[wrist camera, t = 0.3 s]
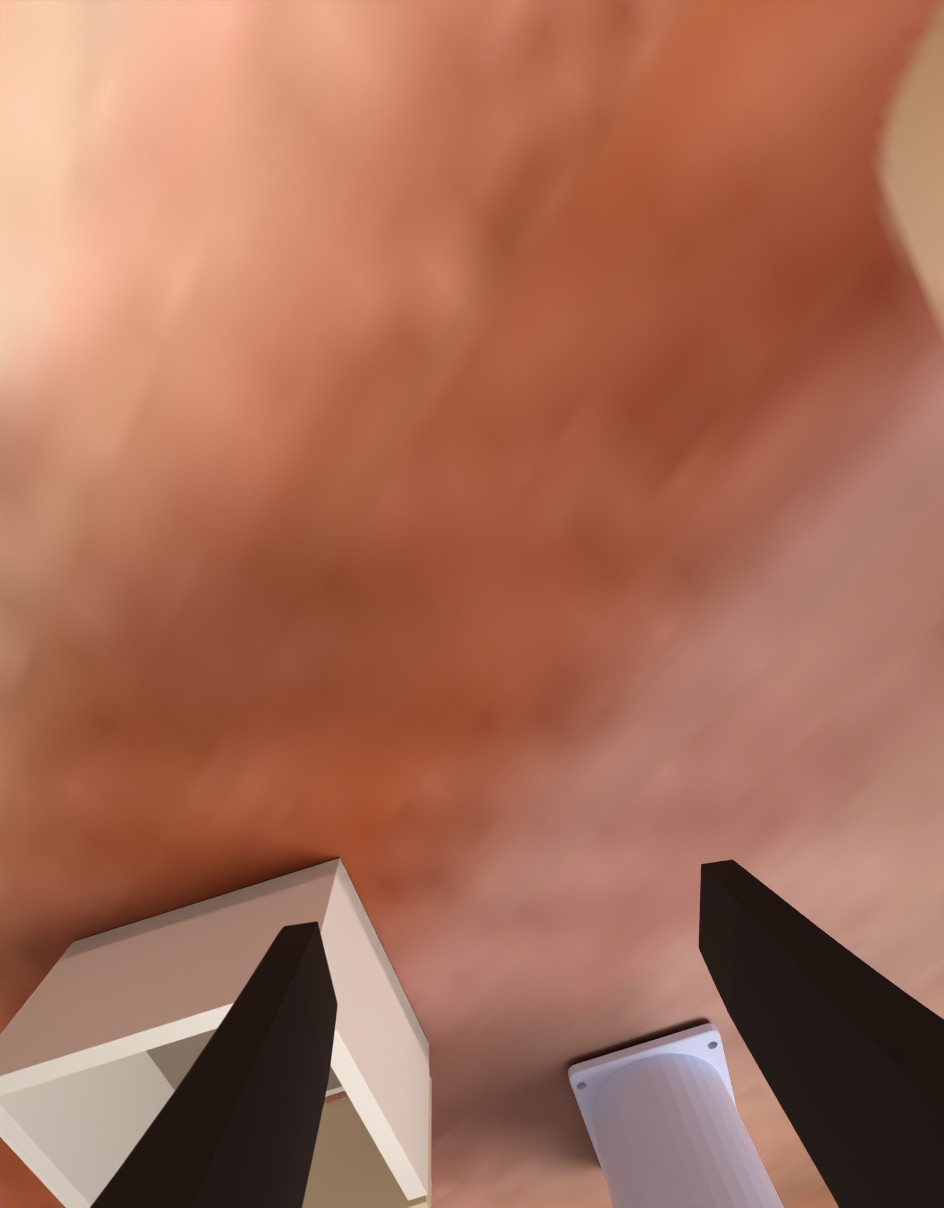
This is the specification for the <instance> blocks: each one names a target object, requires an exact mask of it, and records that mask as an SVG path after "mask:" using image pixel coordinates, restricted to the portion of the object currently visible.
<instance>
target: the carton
mask: <svg viewBox="0 0 944 1208" xmlns="http://www.w3.org/2000/svg"><path fill="white" fill-rule="evenodd" d="M316 921H318V925H319V929H320V933H321V937H322V941H323V946H324V950H325V954H326V958H327V962H328V966H329V970H330V974H331V979H332V983H333V987H334V991H335V995H336V999H337V1003H338V1007H337V1016H336V1024H335V1033H334V1042H333V1050H332V1057H331V1065H330V1073H329V1080H328V1086H327V1090H326V1095H325V1097H327V1096H330V1095H333V1094H336V1093H339V1092H343V1091H346V1093H347V1095H348V1097H349V1098H350V1100H351V1102H352V1104H353V1105H354V1107H355V1109H356V1111H357V1112H358V1114H359V1116H360V1118H361V1119H362V1121H363V1123H364V1125H365V1126H366V1128H367V1130H368V1131H369V1133H370V1135H371V1137H372V1138H373V1140H374V1142H375V1144H376V1145H377V1147H378V1149H379V1151H380V1152H381V1154H382V1156H383V1158H384V1159H385V1161H386V1163H387V1165H388V1166H389V1168H390V1170H391V1172H392V1173H393V1175H394V1177H395V1179H396V1180H397V1182H398V1184H399V1185H400V1187H401V1189H402V1191H403V1192H404V1194H405V1196H406V1198H407V1199H408V1200H412V1199H415V1198H418V1197H421V1196H425V1195H428V1117H429V1043H428V1041H427V1039H426V1037H425V1035H424V1033H423V1031H422V1029H421V1027H420V1024H419V1022H418V1020H417V1018H416V1016H415V1014H414V1012H413V1010H412V1008H411V1006H410V1004H409V1002H408V999H407V997H406V995H405V993H404V991H403V989H402V987H401V985H400V983H399V981H398V979H397V976H396V974H395V972H394V970H393V968H392V966H391V964H390V962H389V960H388V958H387V956H386V953H385V951H384V949H383V947H382V945H381V943H380V941H379V939H378V937H377V935H376V933H375V930H374V928H373V926H372V924H371V922H370V920H369V918H368V916H367V914H366V912H365V910H364V907H363V905H362V903H361V901H360V899H359V897H358V895H357V893H356V891H355V889H354V887H353V884H352V882H351V880H350V878H349V876H348V874H347V872H346V870H345V868H344V866H343V864H342V861H341V859H340V858H338V859H335V860H332V861H329V862H325V863H322V864H319V865H316V866H313V867H310V868H306V869H303V870H300V871H297V872H294V873H290V874H287V875H284V876H281V877H278V878H275V879H271V880H268V881H265V882H262V883H259V884H256V885H252V886H249V887H246V888H243V889H240V890H236V891H233V892H230V893H227V894H224V895H221V896H217V897H214V898H211V899H208V900H205V901H201V902H198V903H195V904H192V905H189V906H186V907H182V908H179V909H176V910H173V911H170V912H167V913H163V914H160V915H157V916H154V917H151V918H147V919H144V920H141V921H138V922H135V923H132V924H128V925H125V926H122V927H119V928H116V929H113V930H109V931H106V932H103V933H100V934H97V935H93V936H90V937H87V938H84V939H81V940H78V941H74V942H72V944H71V945H70V946H69V948H68V949H67V950H66V951H65V953H64V954H63V955H62V956H61V958H60V959H59V960H58V962H57V963H56V964H55V965H54V967H53V968H52V969H51V970H50V972H49V973H48V974H47V976H46V977H45V978H44V979H43V981H42V982H41V983H40V984H39V986H38V987H37V988H36V990H35V991H34V992H33V993H32V995H31V996H30V997H29V998H28V1000H27V1001H26V1002H25V1004H24V1005H23V1006H22V1007H21V1009H20V1010H19V1011H18V1012H17V1014H16V1015H15V1016H14V1018H13V1019H12V1020H11V1021H10V1023H9V1024H8V1025H7V1026H6V1028H5V1029H4V1030H3V1032H2V1033H1V1034H0V1137H1V1138H2V1139H3V1140H4V1141H5V1142H6V1144H7V1145H8V1146H9V1147H10V1148H11V1149H12V1150H13V1151H14V1152H15V1153H16V1154H17V1155H18V1156H19V1158H20V1159H21V1160H22V1161H23V1162H24V1163H25V1164H26V1165H27V1166H28V1167H29V1168H30V1169H31V1171H32V1172H33V1173H34V1174H35V1175H36V1176H37V1177H38V1178H39V1179H40V1180H41V1181H42V1182H43V1184H44V1185H45V1186H46V1187H47V1188H48V1189H49V1190H50V1191H51V1192H52V1193H53V1194H54V1195H55V1197H56V1198H57V1199H58V1200H59V1201H60V1202H61V1203H62V1204H63V1205H64V1206H65V1207H66V1208H90V1207H91V1205H92V1204H93V1203H94V1201H95V1200H96V1199H97V1197H98V1196H99V1195H100V1193H101V1192H102V1191H103V1189H104V1188H105V1187H106V1185H107V1184H108V1183H109V1181H110V1180H111V1179H112V1177H113V1176H114V1175H115V1173H116V1172H117V1171H118V1169H119V1168H120V1167H121V1165H122V1164H123V1163H124V1161H125V1160H126V1158H127V1157H128V1156H129V1154H130V1153H131V1151H132V1150H133V1149H134V1147H135V1146H136V1144H137V1143H138V1142H139V1140H140V1139H141V1137H142V1136H143V1135H144V1133H145V1132H146V1130H147V1129H148V1128H149V1126H150V1125H151V1124H152V1122H153V1121H154V1119H155V1118H156V1117H157V1115H158V1114H159V1112H160V1111H161V1110H162V1108H163V1107H164V1105H165V1104H166V1103H167V1101H168V1100H169V1098H170V1097H171V1096H172V1094H173V1093H174V1091H175V1090H176V1089H177V1087H178V1086H179V1084H180V1083H181V1081H182V1080H183V1078H184V1077H185V1076H186V1074H187V1073H188V1071H189V1070H190V1068H191V1067H192V1065H193V1064H194V1062H195V1061H196V1059H197V1058H198V1056H199V1055H200V1053H201V1052H202V1050H203V1049H204V1047H205V1046H206V1044H207V1043H208V1041H209V1040H210V1038H211V1037H212V1035H213V1034H214V1032H215V1031H216V1029H217V1028H218V1027H219V1025H220V1024H221V1022H222V1021H223V1019H224V1017H225V1016H226V1014H227V1013H228V1011H229V1010H230V1008H231V1007H232V1005H233V1004H234V1002H235V1001H236V999H237V997H238V996H239V994H240V993H241V991H242V990H243V988H244V987H245V985H246V983H247V982H248V980H249V979H250V977H251V976H252V974H253V973H254V971H255V969H256V968H257V966H258V965H259V963H260V961H261V960H262V958H263V957H264V955H265V954H266V952H267V950H268V949H269V947H270V946H271V944H272V942H273V941H274V939H275V938H276V936H277V934H278V933H279V932H280V930H281V929H282V928H283V927H284V926H289V925H295V924H302V923H309V922H316Z"/></svg>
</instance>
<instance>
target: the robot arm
mask: <svg viewBox="0 0 944 1208" xmlns="http://www.w3.org/2000/svg"><path fill="white" fill-rule="evenodd" d="M699 950H700V952H701V954H702V956H703V959H704V961H705V963H706V965H707V968H708V970H709V972H710V974H711V976H712V979H713V981H714V983H715V985H716V987H717V990H718V992H719V994H720V996H721V998H722V1000H723V1002H724V1004H725V1007H726V1009H727V1011H728V1013H729V1015H730V1017H731V1019H732V1020H733V1022H734V1024H735V1026H736V1028H737V1029H738V1031H739V1033H740V1035H741V1037H742V1038H743V1040H744V1042H745V1044H746V1045H747V1047H748V1049H749V1051H750V1052H751V1054H752V1056H753V1058H754V1059H755V1061H756V1063H757V1065H758V1066H759V1068H760V1070H761V1072H762V1073H763V1075H764V1077H765V1079H766V1080H767V1082H768V1084H769V1086H770V1087H771V1089H772V1091H773V1093H774V1094H775V1096H776V1098H777V1100H778V1101H779V1103H780V1105H781V1107H782V1108H783V1110H784V1112H785V1113H786V1115H787V1117H788V1119H789V1120H790V1122H791V1124H792V1126H793V1127H794V1129H795V1131H796V1133H797V1134H798V1136H799V1138H800V1140H801V1141H802V1143H803V1145H804V1147H805V1148H806V1150H807V1152H808V1153H809V1155H810V1157H811V1159H812V1160H813V1162H814V1164H815V1166H816V1167H817V1169H818V1171H819V1173H820V1174H821V1176H822V1178H823V1180H824V1181H825V1183H826V1185H827V1187H828V1188H829V1190H830V1192H831V1194H832V1195H833V1197H834V1199H835V1201H836V1203H837V1204H838V1206H839V1208H944V1019H942V1018H941V1017H939V1016H938V1015H936V1014H935V1013H934V1012H932V1011H931V1010H929V1009H928V1008H927V1007H925V1006H924V1005H922V1004H921V1003H919V1002H918V1001H917V1000H915V999H914V998H912V997H911V996H910V995H908V994H907V993H905V992H904V991H903V990H901V989H900V988H899V987H897V986H896V985H894V984H893V983H892V982H890V981H889V980H888V979H886V978H885V977H883V976H882V975H881V974H879V973H878V972H877V971H875V970H874V969H873V968H871V967H870V966H869V965H867V964H866V963H865V962H863V961H862V960H861V959H859V958H858V957H857V956H855V955H854V954H853V953H851V952H850V951H849V950H847V949H846V948H845V947H843V946H842V945H841V944H839V943H838V942H837V941H836V940H834V939H833V938H832V937H830V936H829V935H828V934H826V933H825V932H824V931H823V930H821V929H820V928H819V927H817V926H816V925H815V924H814V923H812V922H811V921H810V920H809V919H807V918H806V917H805V916H803V915H802V914H801V913H800V912H798V911H797V910H796V909H794V908H793V907H792V906H791V905H789V904H788V903H787V902H786V901H784V900H783V899H782V898H781V897H779V896H778V895H777V894H776V893H774V892H773V891H772V890H770V889H769V888H768V887H767V886H765V885H764V884H763V883H762V882H760V881H759V880H758V879H757V878H755V877H754V876H753V875H752V874H750V873H749V872H748V871H746V870H745V869H744V868H743V867H741V866H740V865H739V864H738V863H736V862H735V861H734V860H727V861H720V862H713V863H706V864H701V889H700V922H699ZM337 1007H338V1003H337V999H336V995H335V991H334V987H333V983H332V979H331V974H330V970H329V966H328V962H327V958H326V954H325V950H324V946H323V941H322V937H321V933H320V929H319V925H318V921H316V922H309V923H302V924H295V925H289V926H284V927H283V928H282V929H281V930H280V932H279V933H278V934H277V936H276V938H275V939H274V941H273V942H272V944H271V946H270V947H269V949H268V950H267V952H266V954H265V955H264V957H263V958H262V960H261V961H260V963H259V965H258V966H257V968H256V969H255V971H254V973H253V974H252V976H251V977H250V979H249V980H248V982H247V983H246V985H245V987H244V988H243V990H242V991H241V993H240V994H239V996H238V997H237V999H236V1001H235V1002H234V1004H233V1005H232V1007H231V1008H230V1010H229V1011H228V1013H227V1014H226V1016H225V1017H224V1019H223V1021H222V1022H221V1024H220V1025H219V1027H218V1028H217V1029H216V1031H215V1032H214V1034H213V1035H212V1037H211V1038H210V1040H209V1041H208V1043H207V1044H206V1046H205V1047H204V1049H203V1050H202V1052H201V1053H200V1055H199V1056H198V1058H197V1059H196V1061H195V1062H194V1064H193V1065H192V1067H191V1068H190V1070H189V1071H188V1073H187V1074H186V1076H185V1077H184V1078H183V1080H182V1081H181V1083H180V1084H179V1086H178V1087H177V1089H176V1090H175V1091H174V1093H173V1094H172V1096H171V1097H170V1098H169V1100H168V1101H167V1103H166V1104H165V1105H164V1107H163V1108H162V1110H161V1111H160V1112H159V1114H158V1115H157V1117H156V1118H155V1119H154V1121H153V1122H152V1124H151V1125H150V1126H149V1128H148V1129H147V1130H146V1132H145V1133H144V1135H143V1136H142V1137H141V1139H140V1140H139V1142H138V1143H137V1144H136V1146H135V1147H134V1149H133V1150H132V1151H131V1153H130V1154H129V1156H128V1157H127V1158H126V1160H125V1161H124V1163H123V1164H122V1165H121V1167H120V1168H119V1169H118V1171H117V1172H116V1173H115V1175H114V1176H113V1177H112V1179H111V1180H110V1181H109V1183H108V1184H107V1185H106V1187H105V1188H104V1189H103V1191H102V1192H101V1193H100V1195H99V1196H98V1197H97V1199H96V1200H95V1201H94V1203H93V1204H92V1205H91V1207H90V1208H302V1205H303V1201H304V1196H305V1191H306V1187H307V1182H308V1177H309V1172H310V1168H311V1163H312V1158H313V1154H314V1149H315V1144H316V1139H317V1134H318V1129H319V1125H320V1120H321V1115H322V1110H323V1105H324V1100H325V1095H326V1090H327V1086H328V1080H329V1073H330V1065H331V1057H332V1050H333V1042H334V1033H335V1024H336V1016H337ZM568 1077H569V1081H570V1084H571V1087H572V1089H573V1092H574V1095H575V1097H576V1100H577V1103H578V1106H579V1108H580V1111H581V1114H582V1116H583V1119H584V1122H585V1125H586V1127H587V1130H588V1133H589V1135H590V1138H591V1141H592V1144H593V1146H594V1149H595V1152H596V1154H597V1157H598V1160H599V1163H600V1165H601V1168H602V1171H603V1173H604V1176H605V1179H606V1180H607V1184H608V1188H609V1192H610V1196H611V1200H612V1204H613V1208H784V1207H783V1205H782V1203H781V1201H780V1199H779V1197H778V1195H777V1193H776V1191H775V1188H774V1186H773V1184H772V1182H771V1180H770V1178H769V1176H768V1174H767V1172H766V1170H765V1168H764V1165H763V1163H762V1161H761V1159H760V1157H759V1155H758V1153H757V1151H756V1149H755V1147H754V1145H753V1143H752V1140H751V1138H750V1136H749V1134H748V1132H747V1130H746V1128H745V1126H744V1124H743V1122H742V1120H741V1117H740V1115H739V1113H738V1111H737V1108H736V1104H735V1100H734V1095H733V1091H732V1086H731V1082H730V1077H729V1073H728V1068H727V1064H726V1059H725V1055H724V1051H723V1046H722V1042H721V1037H720V1034H719V1032H718V1030H717V1028H716V1026H715V1025H713V1024H710V1023H707V1024H703V1025H700V1026H697V1027H693V1028H690V1029H687V1030H684V1031H681V1032H677V1033H674V1034H671V1035H668V1036H665V1037H661V1038H658V1039H655V1040H652V1041H648V1042H645V1043H642V1044H639V1045H636V1046H632V1047H629V1048H626V1049H623V1050H619V1051H616V1052H613V1053H610V1054H607V1055H603V1056H600V1057H597V1058H594V1059H591V1060H587V1061H584V1062H581V1063H578V1064H575V1065H572V1066H571V1067H570V1068H569V1070H568Z"/></svg>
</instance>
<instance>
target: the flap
mask: <svg viewBox="0 0 944 1208" xmlns="http://www.w3.org/2000/svg"><path fill="white" fill-rule="evenodd" d="M431 1113H432V1079H431V1077H430V1075H429V1117H428V1195H425V1196H421V1197H418V1198H415V1199H412V1200H408V1199H407V1198H406V1196H405V1194H404V1192H403V1191H402V1189H401V1187H400V1185H399V1184H398V1182H397V1180H396V1179H395V1177H394V1175H393V1173H392V1172H391V1170H390V1168H389V1166H388V1165H387V1163H386V1161H385V1159H384V1158H383V1156H382V1154H381V1152H380V1151H379V1149H378V1147H377V1145H376V1144H375V1142H374V1140H373V1138H372V1137H371V1135H370V1133H369V1131H368V1130H367V1128H366V1126H365V1125H364V1123H363V1121H362V1119H361V1118H360V1116H359V1114H358V1112H357V1111H356V1109H355V1107H354V1105H353V1104H352V1102H351V1100H350V1098H349V1097H348V1096H347V1097H343V1098H340V1099H337V1100H334V1101H331V1102H327V1103H324V1105H323V1110H322V1115H321V1120H320V1125H319V1129H318V1134H317V1139H316V1144H315V1149H314V1154H313V1158H312V1163H311V1168H310V1172H309V1177H308V1182H307V1187H306V1191H305V1196H304V1201H303V1205H302V1208H432V1179H431Z"/></svg>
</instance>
